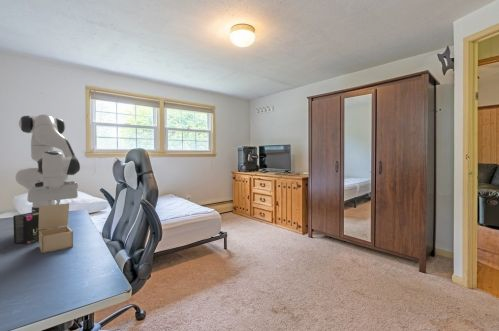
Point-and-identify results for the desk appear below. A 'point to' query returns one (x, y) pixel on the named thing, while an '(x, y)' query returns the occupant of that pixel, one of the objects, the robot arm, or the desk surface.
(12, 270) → the desk surface
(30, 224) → the tampon box
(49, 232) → the carton
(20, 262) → the desk surface
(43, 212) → the lid
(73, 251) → the desk surface
